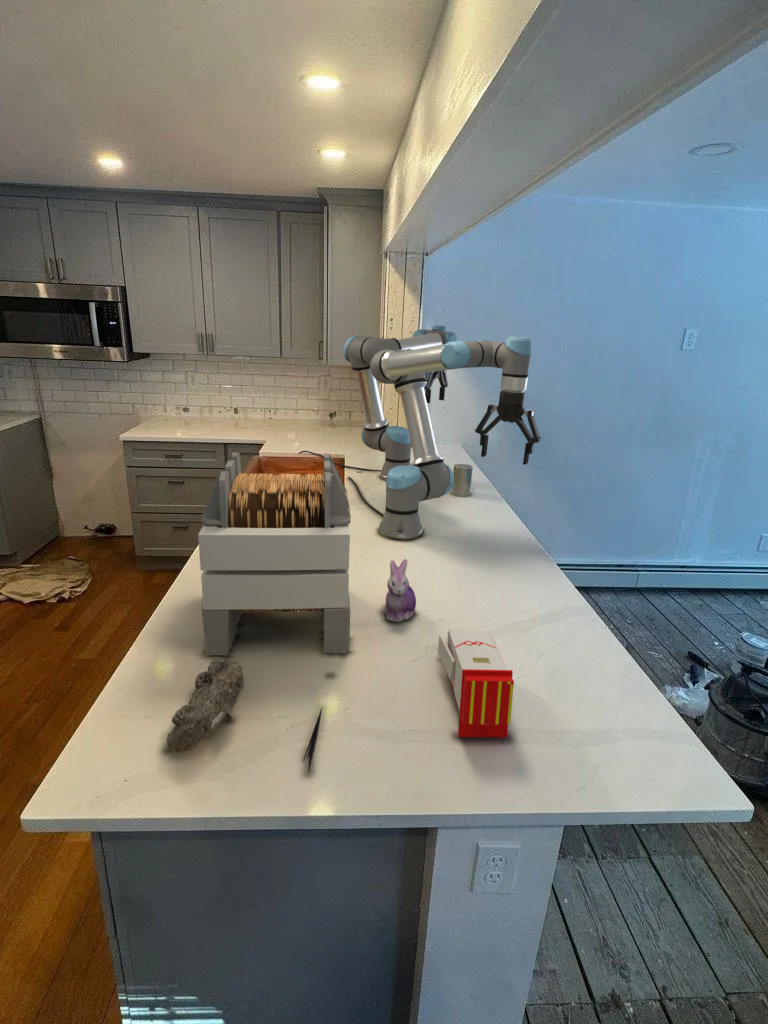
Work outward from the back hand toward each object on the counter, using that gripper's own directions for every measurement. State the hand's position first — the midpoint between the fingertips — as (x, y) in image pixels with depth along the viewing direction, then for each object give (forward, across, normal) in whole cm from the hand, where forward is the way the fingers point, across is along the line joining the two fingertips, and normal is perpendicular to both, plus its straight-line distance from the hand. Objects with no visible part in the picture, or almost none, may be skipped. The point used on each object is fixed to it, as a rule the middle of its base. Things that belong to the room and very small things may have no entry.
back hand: (434, 401), depth 288 cm
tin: (+31, -38, -40) cm, 63 cm away
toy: (+31, -157, -108) cm, 194 cm away
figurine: (+31, -141, -79) cm, 164 cm away
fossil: (+31, -196, -74) cm, 212 cm away
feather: (+31, -184, -90) cm, 207 cm away
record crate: (+31, -162, -57) cm, 175 cm away
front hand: (-1, -88, -80) cm, 119 cm away
